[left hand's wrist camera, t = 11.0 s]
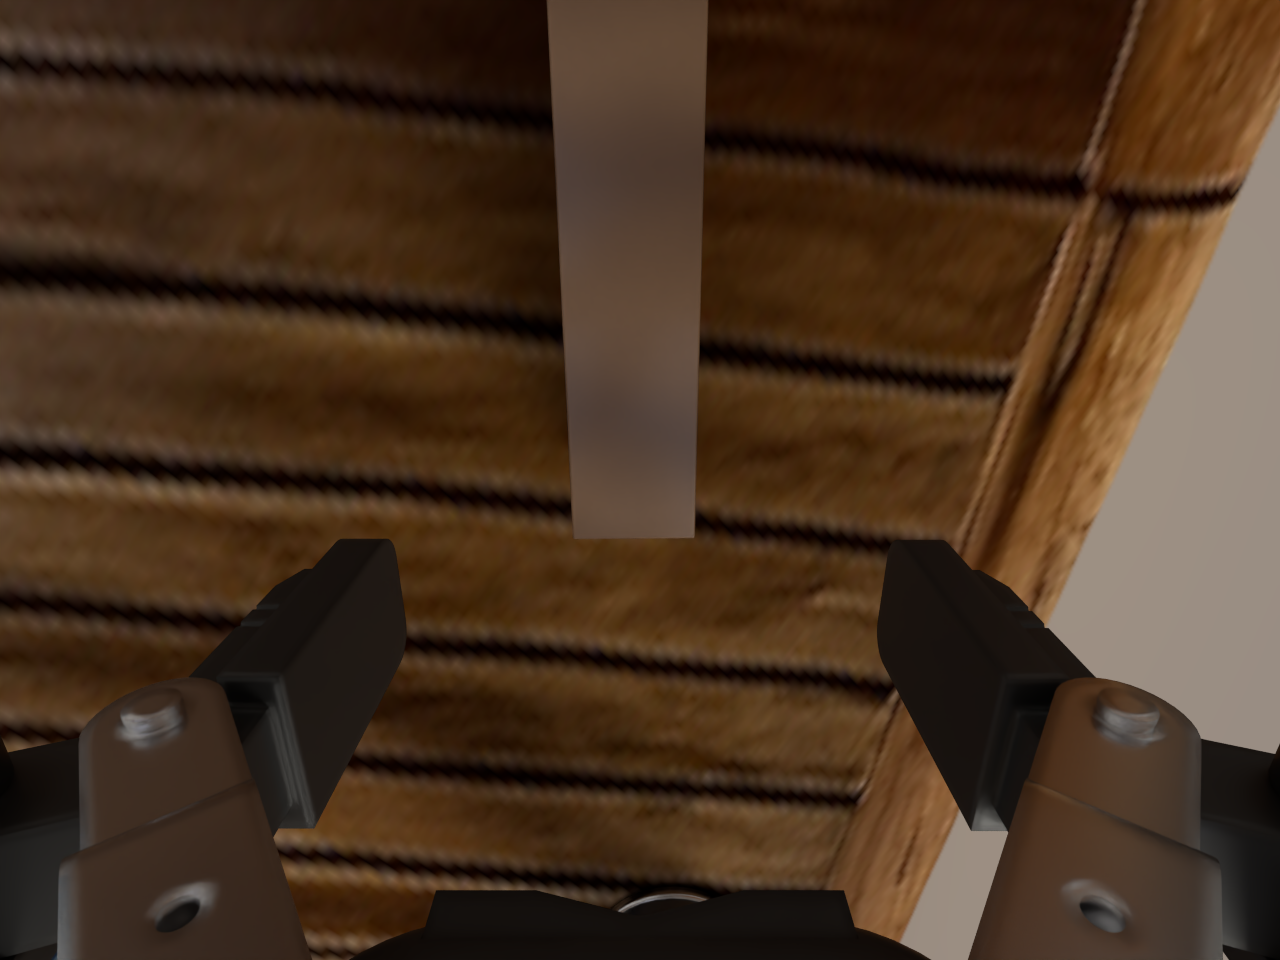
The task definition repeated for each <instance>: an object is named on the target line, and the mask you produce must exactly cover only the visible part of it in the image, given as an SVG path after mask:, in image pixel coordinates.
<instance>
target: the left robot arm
mask: <svg viewBox="0 0 1280 960" xmlns="http://www.w3.org/2000/svg"><path fill="white" fill-rule="evenodd" d="M877 640H878V648H879V653H880V657H881V660H882V662H883V664H884V666H885V668H886V670H887V672H888V674H889V676H890V678H891V680H892V682H893V683H894V685H895V687H896V689H897V691H898V693H899V695H900V697H901V699H902V701H903V702H904V704H905V706H906V708H907V710H908V712H909V714H910V716H911V718H912V720H913V721H914V723H915V725H916V727H917V729H918V731H919V733H920V735H921V737H922V739H923V740H924V742H925V744H926V746H927V748H928V750H929V752H930V754H931V756H932V757H933V759H934V761H935V763H936V765H937V767H938V769H939V771H940V773H941V775H942V776H943V778H944V780H945V782H946V784H947V786H948V788H949V790H950V792H951V794H952V795H953V797H954V799H955V801H956V803H957V805H958V807H959V809H960V811H961V813H962V814H963V816H964V818H965V820H966V822H967V824H968V826H969V828H970V830H971V831H1008V835H1007V839H1006V842H1005V845H1004V848H1003V851H1002V854H1001V857H1000V861H999V864H998V867H997V870H996V873H995V876H994V880H993V883H992V886H991V889H990V892H989V895H988V898H987V901H986V905H985V908H984V911H983V914H982V917H981V920H980V923H979V927H978V930H977V933H976V936H975V939H974V943H973V946H972V949H971V952H970V955H969V958H968V960H1223V952H1224V954H1225V955H1226V956H1227V958H1228V959H1229V960H1280V745H1279V747H1278V749H1277V751H1276V754H1272V753H1267V752H1262V751H1257V750H1253V749H1248V748H1243V747H1238V746H1233V745H1228V744H1223V743H1218V742H1214V741H1209V740H1204V739H1201V738H1200V735H1199V733H1198V731H1197V729H1196V728H1195V726H1194V725H1193V724H1192V722H1191V721H1190V720H1189V719H1188V718H1187V717H1186V716H1185V715H1184V714H1183V713H1181V712H1180V711H1179V710H1178V709H1176V708H1175V707H1174V706H1172V705H1170V704H1169V703H1167V702H1166V701H1164V700H1162V699H1161V698H1159V697H1157V696H1155V695H1153V694H1151V693H1149V692H1147V691H1144V690H1142V689H1139V688H1137V687H1134V686H1131V685H1128V684H1125V683H1121V682H1118V681H1113V680H1108V679H1101V678H1096V677H1095V676H1094V675H1093V674H1092V673H1091V672H1090V671H1089V670H1088V669H1087V668H1086V667H1085V666H1084V665H1083V664H1082V663H1081V662H1080V661H1079V660H1078V659H1077V658H1076V656H1075V655H1074V654H1073V653H1072V652H1071V651H1070V650H1069V649H1068V648H1067V647H1066V646H1065V645H1064V644H1063V643H1062V642H1061V641H1060V640H1059V639H1058V638H1057V637H1056V636H1055V635H1054V633H1053V632H1052V631H1051V630H1050V629H1049V628H1044V623H1043V622H1042V621H1041V620H1040V619H1039V618H1038V617H1037V616H1036V615H1035V614H1034V613H1033V612H1032V611H1028V606H1027V605H1026V604H1025V603H1024V602H1023V601H1022V600H1021V599H1020V598H1019V597H1018V596H1017V595H1016V594H1015V593H1014V592H1013V591H1012V590H1011V589H1010V588H1009V587H1008V586H1006V585H1004V584H1003V583H1001V582H999V581H998V580H996V579H994V578H992V577H991V576H989V575H987V574H985V573H984V572H982V571H980V570H972V569H971V568H970V567H969V566H968V565H967V564H966V563H965V562H964V561H963V559H962V558H961V557H960V556H959V555H958V554H957V553H956V552H955V551H954V549H953V548H952V547H951V546H950V545H949V544H948V543H947V542H946V541H944V540H895V541H894V542H893V543H892V544H891V546H890V548H889V552H888V557H887V563H886V570H885V577H884V583H883V590H882V597H881V604H880V610H879V617H878V625H877ZM405 644H406V619H405V612H404V605H403V598H402V591H401V585H400V578H399V571H398V564H397V557H396V552H395V548H394V546H393V543H392V542H391V541H390V540H389V539H340V540H338V541H337V542H336V543H335V544H334V545H333V546H332V547H331V549H330V550H329V551H328V552H327V553H326V554H325V555H324V556H323V558H322V559H321V560H320V561H319V562H318V563H317V564H316V565H315V567H314V568H313V569H304V570H302V571H300V572H299V573H297V574H295V575H293V576H292V577H290V578H288V579H286V580H285V581H283V582H281V583H280V584H278V585H276V586H275V587H274V588H273V589H272V590H271V591H270V592H269V593H268V594H267V595H266V596H265V597H264V598H263V599H262V601H261V602H260V603H259V604H258V605H257V609H256V610H252V611H251V612H250V613H249V614H248V615H247V616H246V617H245V618H244V619H243V621H242V622H241V626H240V627H236V628H235V629H234V630H233V631H232V632H231V633H230V634H229V635H228V636H227V637H226V638H225V639H224V641H223V642H222V643H221V644H220V645H219V646H218V647H217V648H216V649H215V650H214V651H213V652H212V653H211V654H210V655H209V656H208V657H207V658H206V659H205V661H204V662H203V663H202V664H201V665H200V666H199V667H198V668H197V669H196V670H195V671H194V672H193V673H192V674H191V675H190V676H189V677H188V678H178V679H172V680H167V681H162V682H159V683H155V684H152V685H149V686H146V687H143V688H141V689H138V690H136V691H133V692H131V693H129V694H127V695H125V696H123V697H121V698H119V699H118V700H116V701H114V702H113V703H111V704H110V705H108V706H106V707H105V708H104V709H102V710H101V711H100V712H99V713H97V714H96V715H95V716H94V717H93V718H92V719H91V720H90V721H89V722H88V724H87V725H86V726H85V728H84V729H83V731H82V733H81V735H80V738H76V739H71V740H66V741H62V742H57V743H52V744H47V745H42V746H37V747H32V748H27V749H22V750H18V751H13V752H7V750H6V747H5V745H4V743H3V740H2V738H1V736H0V960H51V959H52V958H53V956H54V955H55V954H56V952H57V960H312V958H311V955H310V952H309V949H308V945H307V942H306V939H305V936H304V933H303V930H302V927H301V923H300V920H299V917H298V914H297V911H296V908H295V905H294V901H293V898H292V895H291V892H290V889H289V886H288V883H287V879H286V876H285V873H284V870H283V867H282V864H281V861H280V857H279V854H278V851H277V848H276V845H275V842H274V839H273V837H274V835H275V833H276V832H277V830H278V828H315V826H316V824H317V822H318V820H319V818H320V816H321V814H322V812H323V810H324V809H325V807H326V805H327V803H328V801H329V799H330V797H331V795H332V793H333V791H334V789H335V787H336V785H337V784H338V782H339V780H340V778H341V776H342V774H343V772H344V770H345V768H346V766H347V764H348V762H349V760H350V759H351V757H352V755H353V753H354V751H355V749H356V747H357V745H358V743H359V741H360V739H361V737H362V735H363V734H364V732H365V730H366V728H367V726H368V724H369V722H370V720H371V718H372V716H373V714H374V712H375V711H376V709H377V707H378V705H379V703H380V701H381V699H382V697H383V695H384V693H385V691H386V689H387V687H388V686H389V684H390V682H391V680H392V678H393V676H394V674H395V672H396V670H397V668H398V666H399V664H400V662H401V660H402V657H403V654H404V650H405ZM349 960H931V959H929V958H927V957H926V956H924V955H922V954H921V953H919V952H917V951H915V950H913V949H911V948H909V947H907V946H905V945H903V944H901V943H898V942H896V941H894V940H892V939H889V938H886V937H884V936H881V935H878V934H876V933H873V932H870V931H867V930H864V929H860V928H856V927H854V923H853V920H852V916H851V913H850V910H849V906H848V903H847V900H846V896H845V893H844V890H743V891H739V892H736V893H732V894H728V895H724V896H720V897H715V896H713V895H711V894H709V893H706V892H703V891H700V890H696V889H692V888H685V887H660V888H653V889H649V890H645V891H642V892H639V893H636V894H634V895H631V896H629V897H627V898H625V899H624V900H622V901H621V902H619V903H618V904H617V905H615V906H614V907H613V908H612V909H607V908H603V907H599V906H595V905H591V904H587V903H583V902H580V901H576V900H572V899H568V898H564V897H560V896H556V895H552V894H548V893H544V892H541V891H537V890H436V893H435V896H434V900H433V903H432V906H431V910H430V913H429V916H428V920H427V923H426V927H424V928H420V929H417V930H413V931H410V932H407V933H404V934H402V935H399V936H396V937H394V938H391V939H388V940H386V941H384V942H382V943H379V944H377V945H375V946H373V947H371V948H369V949H367V950H365V951H363V952H361V953H359V954H358V955H356V956H354V957H353V958H351V959H349Z"/></svg>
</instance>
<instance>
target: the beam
mask: <svg viewBox="0 0 1280 960" xmlns="http://www.w3.org/2000/svg"><path fill="white" fill-rule="evenodd" d="M547 20H548V40H549V60H550V80H551V101H552V121H553V141H554V162H555V182H556V202H557V223H558V243H559V263H560V284H561V304H562V324H563V345H564V365H565V385H566V406H567V426H568V446H569V467H570V487H571V507H572V527H573V538H574V539H640V538H694V536H695V502H696V463H697V423H698V384H699V345H700V305H701V266H702V227H703V187H704V148H705V109H706V69H707V30H708V0H547Z"/></svg>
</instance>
